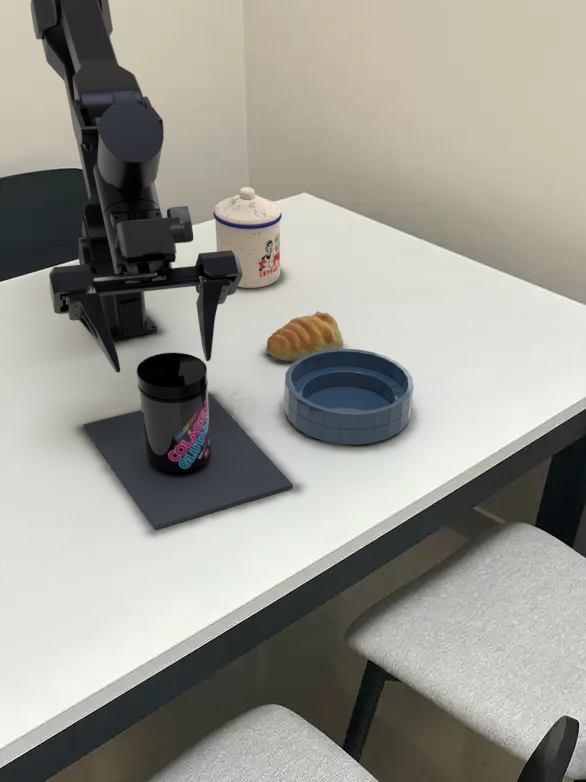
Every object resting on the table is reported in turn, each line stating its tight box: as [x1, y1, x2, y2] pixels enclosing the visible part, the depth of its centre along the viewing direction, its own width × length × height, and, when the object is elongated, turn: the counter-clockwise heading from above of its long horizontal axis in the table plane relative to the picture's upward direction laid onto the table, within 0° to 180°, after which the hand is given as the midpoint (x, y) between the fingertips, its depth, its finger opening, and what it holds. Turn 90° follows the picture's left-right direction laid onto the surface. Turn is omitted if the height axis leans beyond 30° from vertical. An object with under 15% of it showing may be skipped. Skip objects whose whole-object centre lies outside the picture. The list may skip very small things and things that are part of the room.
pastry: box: [265, 311, 344, 363], centre depth 118 cm, size 9×7×4 cm
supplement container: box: [136, 352, 211, 476], centre depth 96 cm, size 7×7×10 cm
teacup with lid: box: [212, 186, 283, 289], centre depth 131 cm, size 12×9×12 cm
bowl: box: [284, 348, 415, 445], centre depth 108 cm, size 14×14×4 cm
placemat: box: [82, 392, 294, 530], centre depth 101 cm, size 20×15×1 cm
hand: (164, 365), depth 97 cm, fingers open, 9 cm apart
